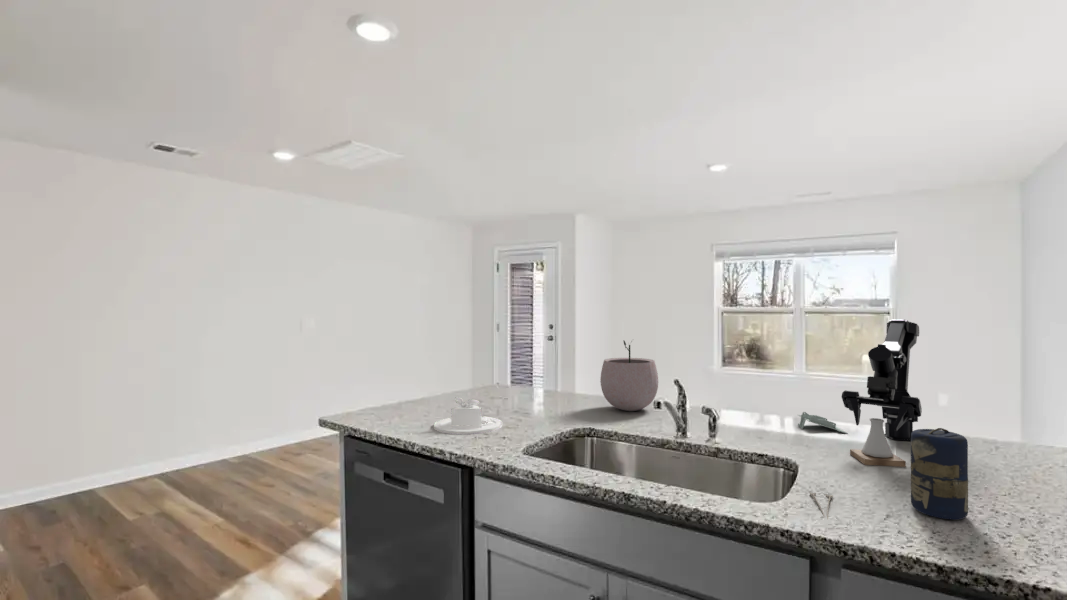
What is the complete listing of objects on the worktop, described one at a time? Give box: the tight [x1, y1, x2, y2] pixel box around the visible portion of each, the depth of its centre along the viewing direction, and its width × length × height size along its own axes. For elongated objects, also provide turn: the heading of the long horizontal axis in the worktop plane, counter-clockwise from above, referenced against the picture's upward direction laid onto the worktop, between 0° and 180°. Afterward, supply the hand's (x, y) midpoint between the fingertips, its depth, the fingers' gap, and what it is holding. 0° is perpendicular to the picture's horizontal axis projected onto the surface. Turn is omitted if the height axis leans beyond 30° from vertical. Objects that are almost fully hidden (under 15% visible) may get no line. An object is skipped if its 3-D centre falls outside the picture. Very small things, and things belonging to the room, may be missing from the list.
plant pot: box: [599, 340, 659, 412], centre depth 217 cm, size 24×24×30 cm
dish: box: [433, 396, 503, 435], centre depth 190 cm, size 25×25×11 cm
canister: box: [910, 427, 969, 520], centre depth 109 cm, size 10×10×18 cm
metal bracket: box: [797, 411, 849, 435], centre depth 184 cm, size 14×6×15 cm
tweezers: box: [809, 492, 834, 520], centre depth 111 cm, size 18×5×2 cm, turn 155°
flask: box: [861, 417, 894, 458], centre depth 146 cm, size 7×7×10 cm
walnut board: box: [849, 448, 907, 468], centre depth 146 cm, size 10×10×2 cm
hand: (875, 427), depth 145 cm, fingers open, 9 cm apart
